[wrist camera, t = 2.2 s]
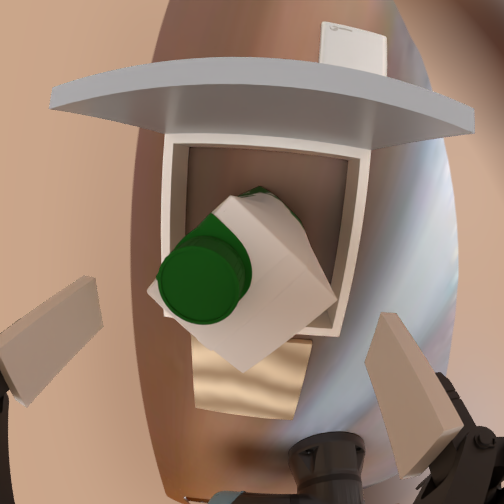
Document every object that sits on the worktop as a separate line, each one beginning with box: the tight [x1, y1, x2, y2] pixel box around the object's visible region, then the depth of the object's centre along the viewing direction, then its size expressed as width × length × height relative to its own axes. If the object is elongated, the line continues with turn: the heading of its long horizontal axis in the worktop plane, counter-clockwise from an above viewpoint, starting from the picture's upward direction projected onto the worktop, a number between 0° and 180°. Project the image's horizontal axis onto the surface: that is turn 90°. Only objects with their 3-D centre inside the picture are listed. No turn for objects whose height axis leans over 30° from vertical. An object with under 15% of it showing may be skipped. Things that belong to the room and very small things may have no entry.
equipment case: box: [49, 57, 475, 337], centre depth 21 cm, size 27×20×21 cm
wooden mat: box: [191, 334, 312, 420], centre depth 38 cm, size 16×16×1 cm
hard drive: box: [318, 22, 387, 77], centre depth 25 cm, size 2×8×12 cm
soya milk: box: [147, 186, 337, 373], centre depth 22 cm, size 9×9×20 cm
